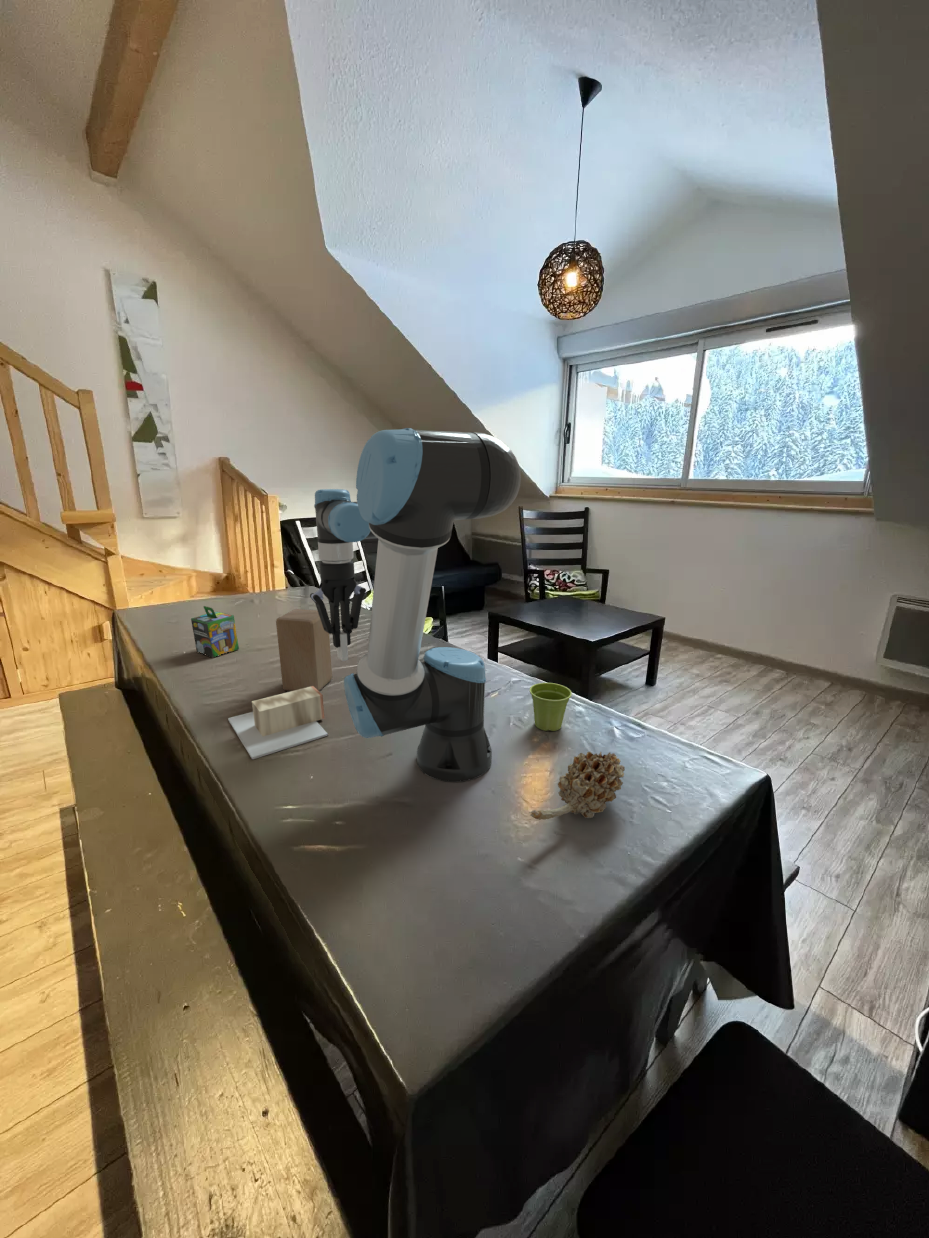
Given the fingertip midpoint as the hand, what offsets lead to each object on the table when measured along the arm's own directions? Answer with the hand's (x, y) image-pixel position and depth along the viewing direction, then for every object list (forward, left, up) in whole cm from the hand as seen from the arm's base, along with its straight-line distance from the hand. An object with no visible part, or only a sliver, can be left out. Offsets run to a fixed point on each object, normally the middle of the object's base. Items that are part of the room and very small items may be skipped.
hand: (343, 658), depth 120 cm
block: (+18, +3, -13) cm, 23 cm away
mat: (0, +17, -13) cm, 21 cm away
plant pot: (-35, -34, -13) cm, 51 cm away
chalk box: (+59, +17, -13) cm, 63 cm away
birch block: (0, +7, -9) cm, 11 cm away
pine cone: (-60, -15, -13) cm, 63 cm away
